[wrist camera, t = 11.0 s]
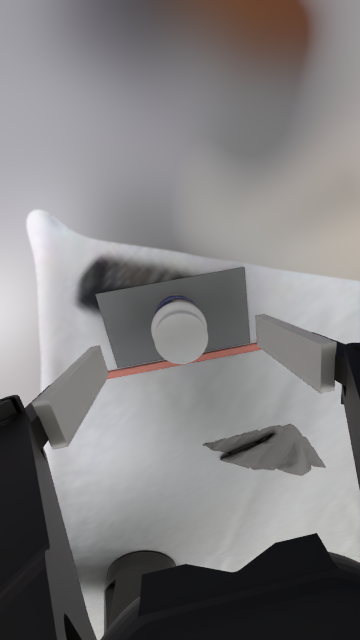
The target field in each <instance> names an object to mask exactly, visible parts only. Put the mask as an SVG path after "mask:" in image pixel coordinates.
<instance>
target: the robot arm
mask: <svg viewBox="0 0 360 640" xmlns="http://www.w3.org/2000/svg"><path fill="white" fill-rule="evenodd" d="M255 321H256V335H257V346H258V347H260V348H261V349H262V350H264V351H265V352H266V353H268V354H269V355H270V356H271V357H273V358H274V359H275V360H277V361H278V362H279V363H281V364H282V365H283V366H285V367H286V368H287V369H289V370H290V371H291V372H293V373H294V374H295V375H296V376H298V377H299V378H300V379H302V380H303V381H304V382H306V383H307V384H308V385H310V386H311V387H312V388H314V389H315V390H316V391H318V392H319V393H320V394H321V393H326V392H331V391H334V387H335V380H336V381H337V382H339V383H341V384H342V394H341V404H344V407H345V412H346V418H347V423H348V429H349V434H350V439H351V445H352V450H353V456H354V461H355V467H356V472H357V478H358V483H359V489H360V343H348V344H343V343H340V342H338V341H335V340H332V339H328V338H327V337H325V336H322V335H319V334H317V333H313V332H309V331H307V330H304V329H301V328H299V327H296V326H294V325H291V324H289V323H286V322H283V321H281V320H278V319H276V318H273V317H270V316H268V315H265V314H261V315H256V316H255ZM108 376H109V373H108V370H107V367H106V364H105V360H104V357H103V354H102V351H101V348H100V346H95V347H90V348H89V349H88V350H87V351H86V352H85V353H84V354H83V355H82V356H81V357H80V358H79V359H78V360H77V361H76V362H74V363H73V364H72V365H71V366H70V367H69V368H68V369H67V370H66V371H65V372H64V373H63V374H62V375H61V376H60V377H59V378H58V379H57V380H55V381H54V382H53V383H52V384H51V385H49V386H48V387H47V388H46V389H45V390H44V391H43V392H42V393H40V394H39V395H38V397H37V398H35V399H34V400H33V401H32V402H31V403H30V404H29V405H28V406H27V407H26V408H24V406H23V404H22V402H21V399H20V397H19V396H18V395H12V396H9V397H5V398H3V399H0V640H97V639H96V636H95V634H94V631H93V628H92V626H91V623H90V620H89V617H88V613H87V610H86V606H85V602H84V598H83V595H82V591H81V587H80V583H79V579H78V575H77V572H76V568H75V564H74V560H73V556H72V552H71V549H70V545H69V541H68V537H67V533H66V529H65V526H64V522H63V518H62V514H61V510H60V506H59V503H58V499H57V495H56V491H55V487H54V483H53V480H52V476H51V472H50V468H49V464H48V460H47V457H46V453H45V451H44V449H43V447H44V445H45V444H46V443H47V441H48V440H49V443H50V445H51V447H52V449H58V448H63V447H68V446H69V444H70V442H71V441H72V439H73V437H74V435H75V434H76V432H77V430H78V428H79V427H80V425H81V423H82V421H83V420H84V418H85V416H86V414H87V413H88V411H89V409H90V407H91V406H92V404H93V402H94V400H95V399H96V397H97V395H98V393H99V392H100V390H101V388H102V386H103V385H104V383H105V381H106V379H107V378H108ZM101 640H360V563H359V562H357V561H355V560H352V559H350V558H348V557H345V556H342V555H339V554H335V553H331V552H328V551H327V550H326V548H325V546H324V545H323V543H322V541H321V539H320V538H319V536H318V534H317V533H315V534H311V535H307V536H303V537H299V538H294V539H290V540H286V541H282V542H277V543H274V544H273V545H272V546H271V547H269V548H268V549H267V550H265V551H264V552H263V553H261V554H260V555H259V556H257V557H256V558H255V559H253V560H252V561H251V562H250V563H248V564H247V565H246V566H244V567H243V568H242V569H240V570H239V571H237V572H226V571H221V570H215V569H210V568H204V567H199V566H194V565H188V564H184V565H180V566H175V564H174V562H173V561H172V560H171V559H170V558H169V557H167V556H165V555H163V554H160V553H155V552H137V553H132V554H129V555H126V556H124V557H121V558H120V559H118V560H117V561H115V562H114V563H113V564H112V565H111V566H110V568H109V570H108V573H107V578H106V583H105V590H104V636H103V637H102V638H101Z"/></svg>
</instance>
